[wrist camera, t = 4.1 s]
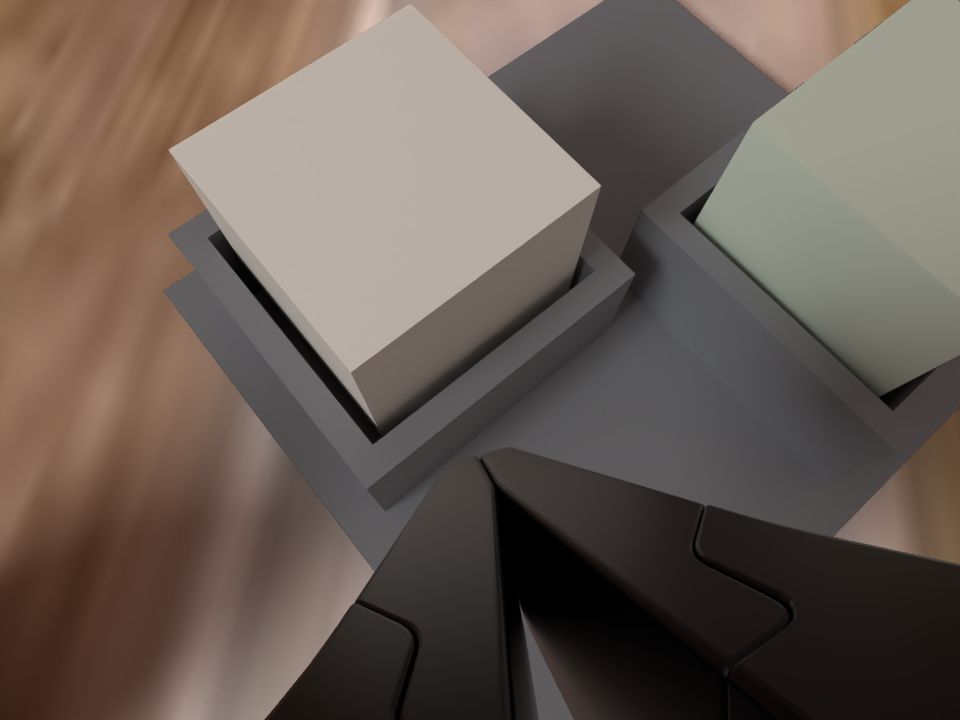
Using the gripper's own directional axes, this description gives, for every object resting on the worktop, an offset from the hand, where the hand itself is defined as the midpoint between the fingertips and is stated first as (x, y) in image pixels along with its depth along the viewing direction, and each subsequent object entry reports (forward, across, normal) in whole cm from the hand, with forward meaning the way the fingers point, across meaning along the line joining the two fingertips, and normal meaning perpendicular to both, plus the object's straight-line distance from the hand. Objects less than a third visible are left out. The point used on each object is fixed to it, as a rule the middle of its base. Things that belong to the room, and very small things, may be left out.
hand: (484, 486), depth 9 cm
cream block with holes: (+13, 0, -1) cm, 13 cm away
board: (+14, +7, -5) cm, 17 cm away
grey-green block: (+11, +13, -3) cm, 18 cm away
